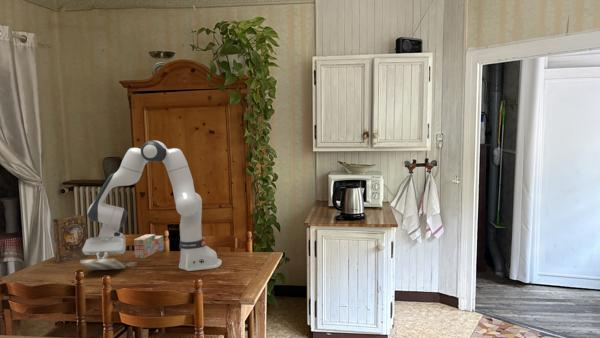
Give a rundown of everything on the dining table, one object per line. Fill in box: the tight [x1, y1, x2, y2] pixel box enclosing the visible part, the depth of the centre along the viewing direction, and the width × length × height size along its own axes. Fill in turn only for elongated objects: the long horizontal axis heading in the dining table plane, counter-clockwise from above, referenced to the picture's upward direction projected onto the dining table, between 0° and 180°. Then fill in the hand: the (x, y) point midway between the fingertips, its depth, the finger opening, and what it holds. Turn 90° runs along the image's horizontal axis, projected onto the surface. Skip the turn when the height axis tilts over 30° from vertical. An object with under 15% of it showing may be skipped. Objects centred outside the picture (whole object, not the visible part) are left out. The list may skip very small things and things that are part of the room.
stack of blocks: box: [133, 233, 165, 259], centre depth 237 cm, size 21×6×12 cm, turn 169°
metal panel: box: [79, 258, 127, 271], centre depth 202 cm, size 16×17×2 cm
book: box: [52, 214, 89, 264], centre depth 232 cm, size 16×6×25 cm, turn 144°
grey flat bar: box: [86, 261, 139, 270], centre depth 213 cm, size 24×6×2 cm, turn 94°
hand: (100, 261), depth 199 cm, fingers closed, pressing on metal panel
